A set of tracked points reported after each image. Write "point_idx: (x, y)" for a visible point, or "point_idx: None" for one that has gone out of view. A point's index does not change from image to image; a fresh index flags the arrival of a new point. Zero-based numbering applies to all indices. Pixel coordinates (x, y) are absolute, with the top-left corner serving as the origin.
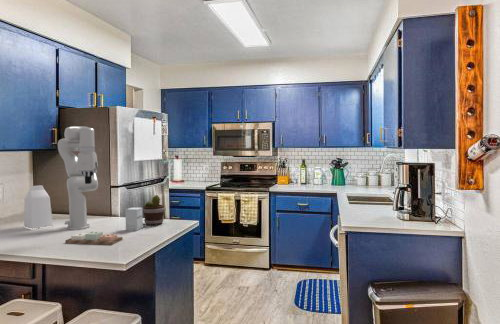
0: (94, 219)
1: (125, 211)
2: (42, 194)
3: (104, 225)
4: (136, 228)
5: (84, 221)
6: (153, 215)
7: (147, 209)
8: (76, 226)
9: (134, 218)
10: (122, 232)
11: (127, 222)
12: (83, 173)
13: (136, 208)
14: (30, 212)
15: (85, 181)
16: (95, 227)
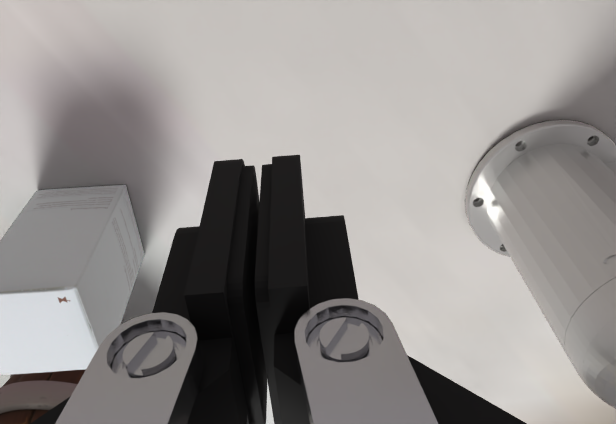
0: (560, 391)
1: (81, 274)
2: None
3: (391, 279)
4: (32, 198)
5: (501, 214)
6: (18, 380)
7: (34, 406)
8: (535, 154)
9: (15, 242)
10: (103, 129)
11: (92, 217)
12: (416, 403)
13: (4, 333)
14: None
15: (290, 182)
16: (419, 222)
